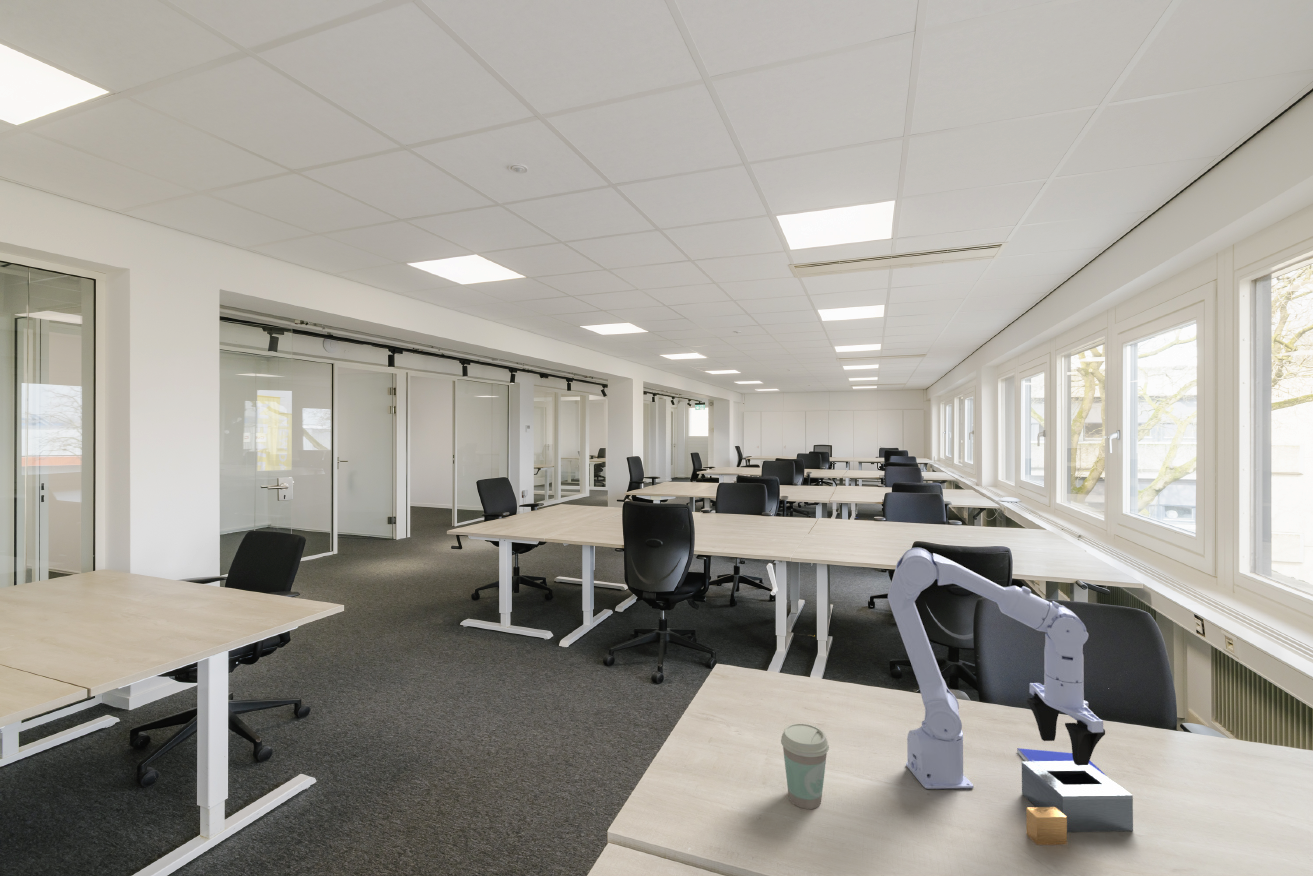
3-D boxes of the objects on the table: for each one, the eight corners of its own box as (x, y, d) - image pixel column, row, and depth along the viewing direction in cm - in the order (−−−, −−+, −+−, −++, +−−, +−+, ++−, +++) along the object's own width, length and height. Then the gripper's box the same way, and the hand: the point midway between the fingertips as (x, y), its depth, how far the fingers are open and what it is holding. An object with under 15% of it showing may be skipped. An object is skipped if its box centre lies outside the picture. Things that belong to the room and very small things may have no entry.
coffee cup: (803, 820, 94) (803, 750, 94) (771, 792, 102) (771, 728, 102) (839, 805, 98) (839, 738, 98) (806, 779, 106) (805, 717, 106)
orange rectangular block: (1036, 845, 88) (1036, 817, 88) (1026, 834, 91) (1026, 807, 91) (1067, 844, 88) (1066, 816, 88) (1055, 834, 91) (1055, 807, 91)
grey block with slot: (1063, 832, 91) (1062, 796, 91) (1021, 793, 101) (1021, 761, 101) (1133, 831, 91) (1132, 795, 91) (1084, 792, 101) (1084, 760, 101)
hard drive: (1037, 769, 107) (1107, 776, 105) (1017, 747, 115) (1081, 752, 113) (1037, 777, 107) (1107, 784, 105) (1017, 754, 115) (1081, 760, 113)
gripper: (1120, 694, 91) (1121, 775, 91) (1054, 660, 106) (1054, 730, 105) (1080, 695, 91) (1080, 776, 91) (1018, 660, 105) (1019, 730, 105)
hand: (1063, 751), depth 98 cm, fingers open, 7 cm apart
